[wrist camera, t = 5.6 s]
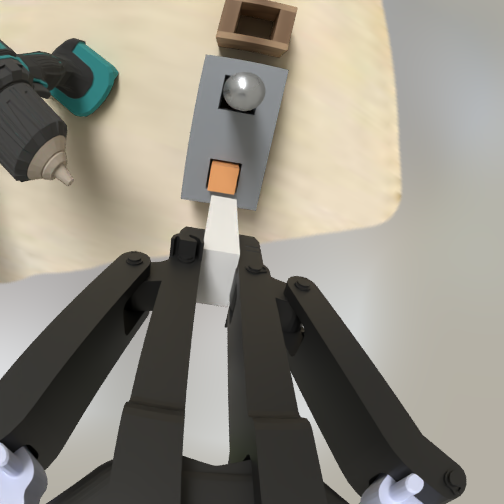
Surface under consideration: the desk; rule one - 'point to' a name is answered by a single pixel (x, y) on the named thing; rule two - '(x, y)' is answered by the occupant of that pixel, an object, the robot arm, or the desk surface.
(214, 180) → the plunger
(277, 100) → the socket block
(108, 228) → the desk surface
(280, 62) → the desk surface
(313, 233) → the desk surface
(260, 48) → the hollow brown square tube
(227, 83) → the cylinder
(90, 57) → the power drill
